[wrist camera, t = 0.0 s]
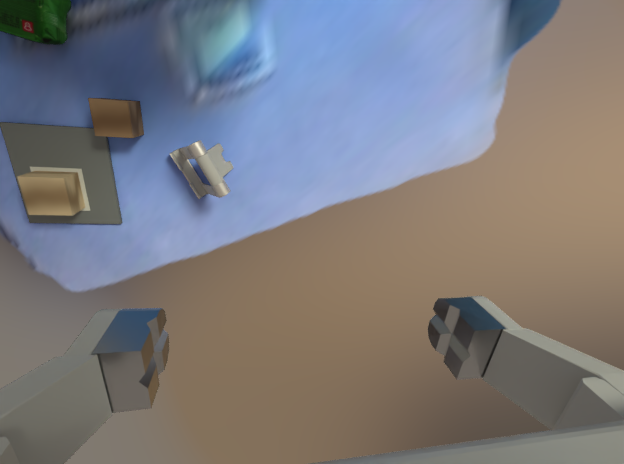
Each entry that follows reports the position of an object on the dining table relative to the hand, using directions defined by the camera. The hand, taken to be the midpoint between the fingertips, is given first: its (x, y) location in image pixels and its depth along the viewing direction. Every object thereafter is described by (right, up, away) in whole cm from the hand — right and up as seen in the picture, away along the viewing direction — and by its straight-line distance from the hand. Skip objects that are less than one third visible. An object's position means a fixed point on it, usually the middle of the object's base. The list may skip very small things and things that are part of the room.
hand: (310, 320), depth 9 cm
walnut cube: (-30, +21, +39) cm, 53 cm away
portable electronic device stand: (-18, +14, +44) cm, 50 cm away
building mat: (-40, +12, +40) cm, 58 cm away
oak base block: (-41, +10, +40) cm, 59 cm away
